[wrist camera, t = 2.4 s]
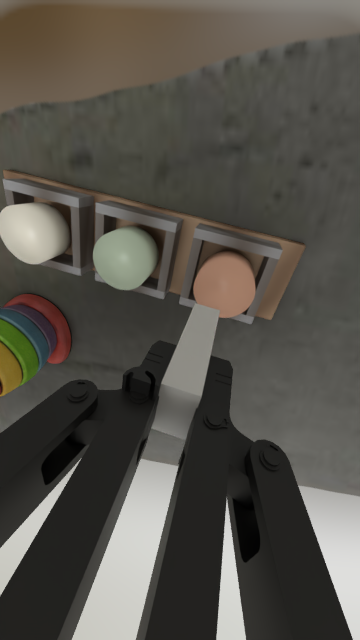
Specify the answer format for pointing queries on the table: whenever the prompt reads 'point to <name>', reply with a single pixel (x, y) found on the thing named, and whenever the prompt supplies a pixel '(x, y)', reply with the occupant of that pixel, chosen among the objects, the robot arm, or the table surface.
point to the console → (160, 241)
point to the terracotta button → (225, 283)
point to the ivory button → (34, 231)
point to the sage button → (125, 257)
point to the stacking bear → (30, 339)
